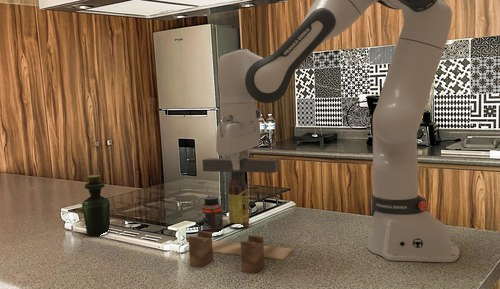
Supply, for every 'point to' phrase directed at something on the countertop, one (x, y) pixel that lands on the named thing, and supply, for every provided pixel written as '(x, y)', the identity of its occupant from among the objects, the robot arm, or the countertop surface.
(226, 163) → the rail
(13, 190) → the countertop surface
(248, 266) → the post
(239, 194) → the sauce bottle
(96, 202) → the potion bottle
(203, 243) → the post
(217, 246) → the wooden plank
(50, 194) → the countertop surface
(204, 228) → the supplement bottle
